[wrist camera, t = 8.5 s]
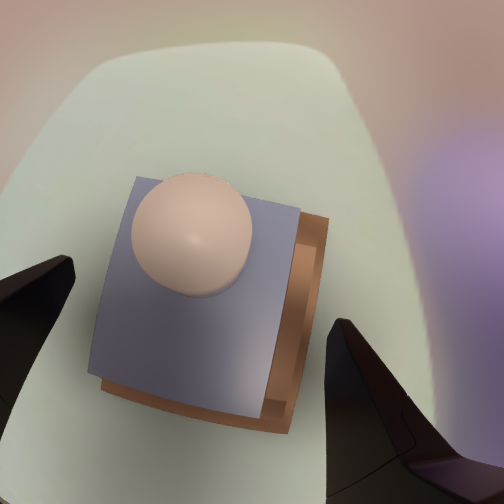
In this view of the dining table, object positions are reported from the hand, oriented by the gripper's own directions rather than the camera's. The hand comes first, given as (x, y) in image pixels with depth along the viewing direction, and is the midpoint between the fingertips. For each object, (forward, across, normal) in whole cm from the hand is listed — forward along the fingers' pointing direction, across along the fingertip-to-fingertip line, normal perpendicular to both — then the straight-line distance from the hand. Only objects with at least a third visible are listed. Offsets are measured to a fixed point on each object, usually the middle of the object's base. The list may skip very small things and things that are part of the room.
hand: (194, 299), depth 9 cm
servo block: (+6, 0, +6) cm, 9 cm away
